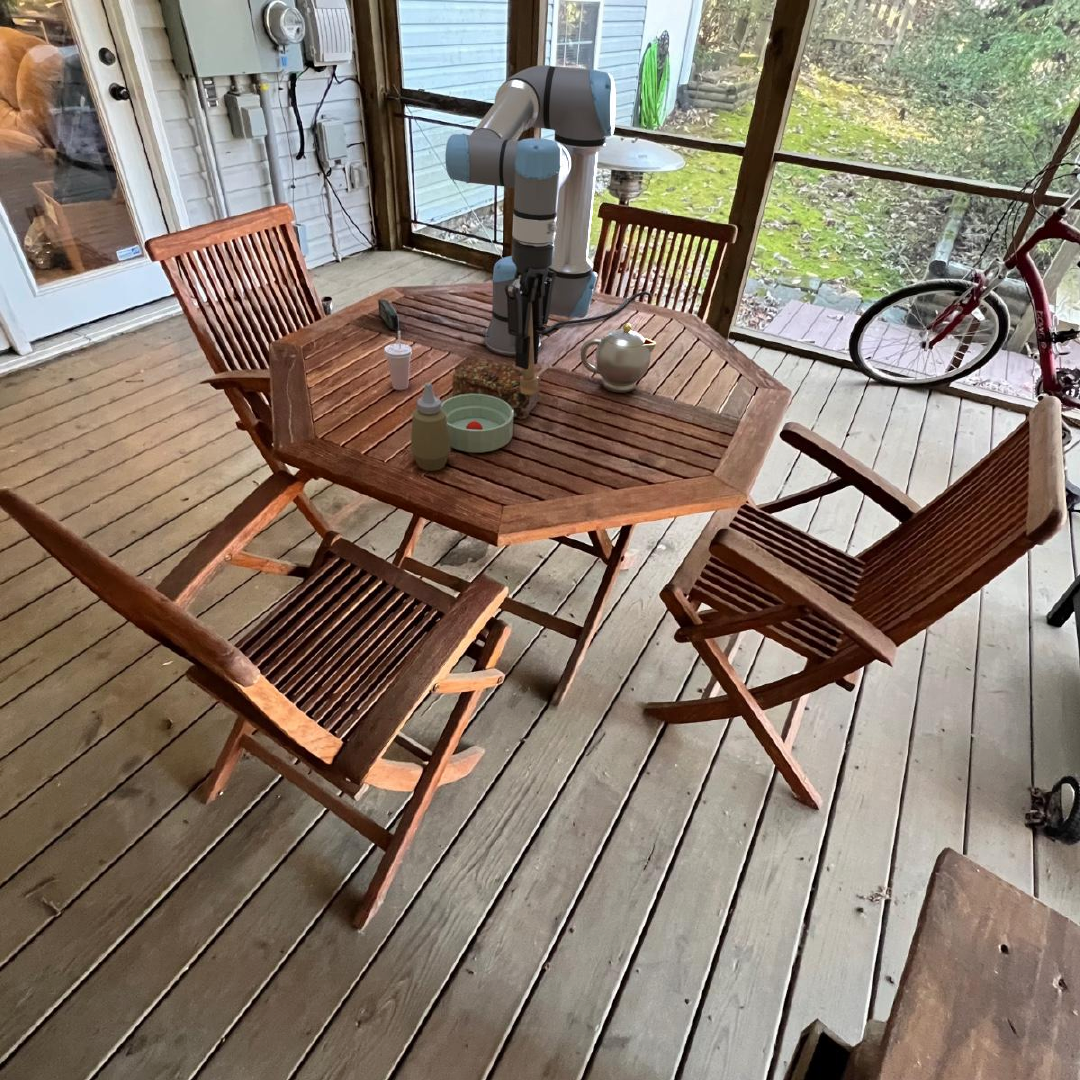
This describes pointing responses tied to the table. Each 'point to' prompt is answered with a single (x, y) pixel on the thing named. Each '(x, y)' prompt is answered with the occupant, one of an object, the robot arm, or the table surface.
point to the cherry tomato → (474, 426)
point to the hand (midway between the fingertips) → (526, 364)
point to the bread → (494, 383)
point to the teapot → (620, 358)
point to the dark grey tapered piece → (389, 314)
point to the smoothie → (398, 363)
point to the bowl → (486, 412)
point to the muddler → (529, 367)
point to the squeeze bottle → (430, 432)
